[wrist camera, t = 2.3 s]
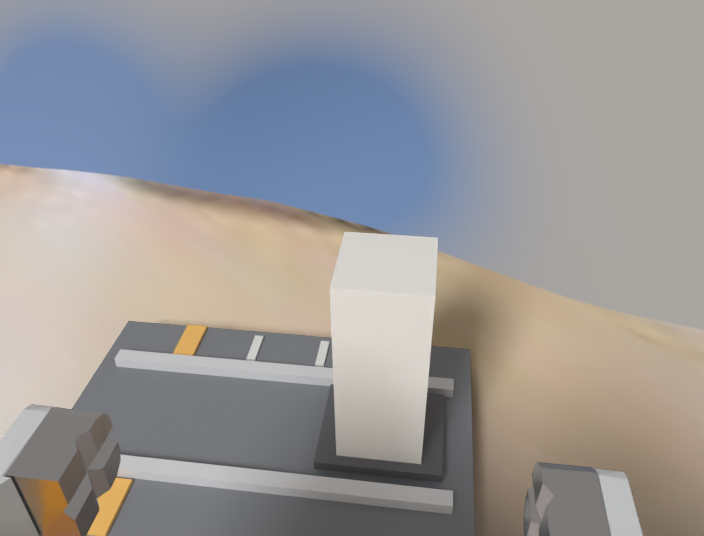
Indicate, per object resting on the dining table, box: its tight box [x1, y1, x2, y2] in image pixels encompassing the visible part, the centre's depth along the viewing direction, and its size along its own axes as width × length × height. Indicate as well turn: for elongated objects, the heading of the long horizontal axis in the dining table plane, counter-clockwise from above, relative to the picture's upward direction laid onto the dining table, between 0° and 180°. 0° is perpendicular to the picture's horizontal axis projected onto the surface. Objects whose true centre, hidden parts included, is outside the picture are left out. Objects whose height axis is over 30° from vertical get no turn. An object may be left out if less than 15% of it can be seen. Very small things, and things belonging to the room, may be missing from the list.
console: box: [72, 321, 475, 536], centre depth 33 cm, size 21×14×3 cm, turn 82°
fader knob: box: [314, 232, 444, 482], centre depth 28 cm, size 6×5×10 cm
